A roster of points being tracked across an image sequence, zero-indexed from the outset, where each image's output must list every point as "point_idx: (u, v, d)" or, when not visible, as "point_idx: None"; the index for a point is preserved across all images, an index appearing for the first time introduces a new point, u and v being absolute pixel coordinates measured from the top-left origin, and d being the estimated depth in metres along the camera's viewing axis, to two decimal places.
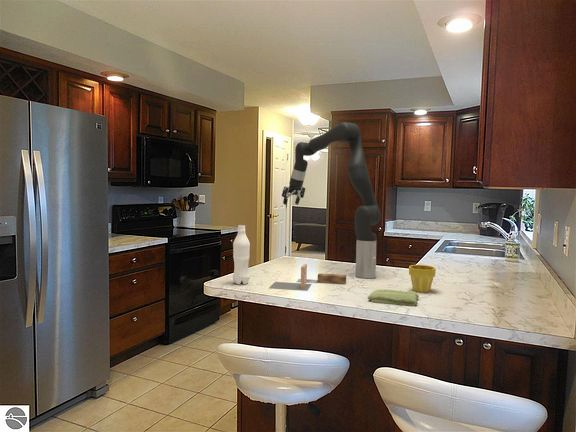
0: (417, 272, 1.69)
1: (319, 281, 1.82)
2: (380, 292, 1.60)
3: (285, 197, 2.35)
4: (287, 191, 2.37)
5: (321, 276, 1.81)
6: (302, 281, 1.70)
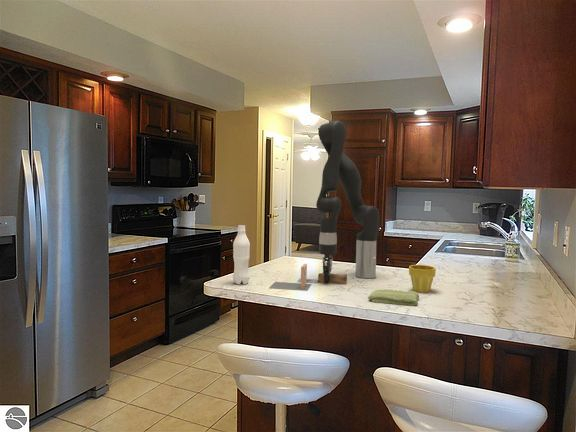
0: (417, 272, 1.69)
1: (320, 281, 1.82)
2: (380, 292, 1.61)
3: None
4: None
5: (322, 276, 1.81)
6: (302, 281, 1.70)
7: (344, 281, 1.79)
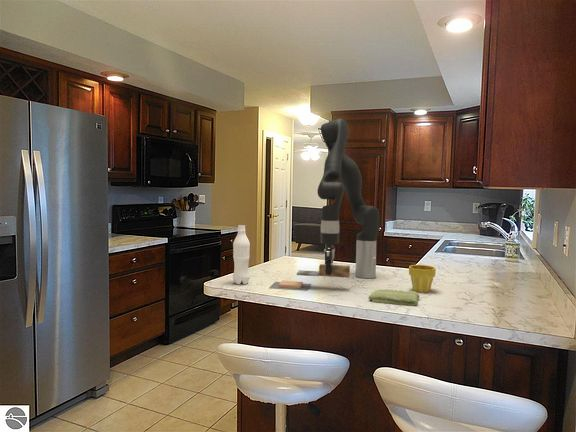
0: (417, 272, 1.69)
1: (321, 272, 1.70)
2: (381, 292, 1.61)
3: None
4: None
5: (323, 267, 1.70)
6: (292, 286, 1.71)
7: (347, 272, 1.68)
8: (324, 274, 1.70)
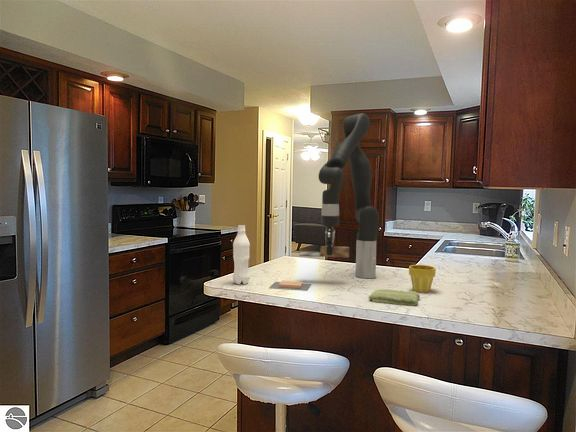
0: (417, 272, 1.69)
1: (322, 253, 1.80)
2: (381, 292, 1.61)
3: None
4: None
5: (324, 248, 1.79)
6: (292, 286, 1.71)
7: (347, 253, 1.78)
8: (325, 255, 1.79)
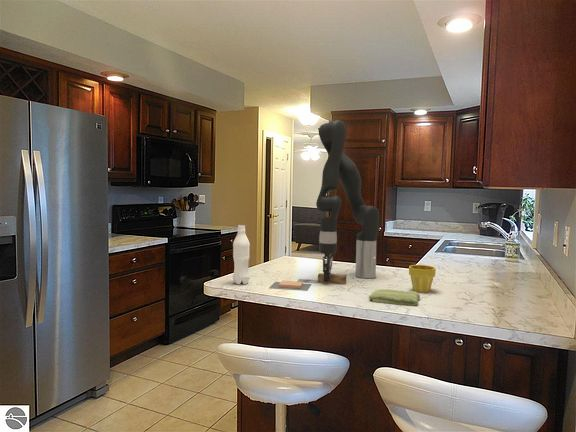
0: (417, 272, 1.69)
1: (319, 281, 1.82)
2: (381, 292, 1.61)
3: None
4: None
5: (321, 276, 1.81)
6: (292, 286, 1.71)
7: (344, 281, 1.80)
8: None
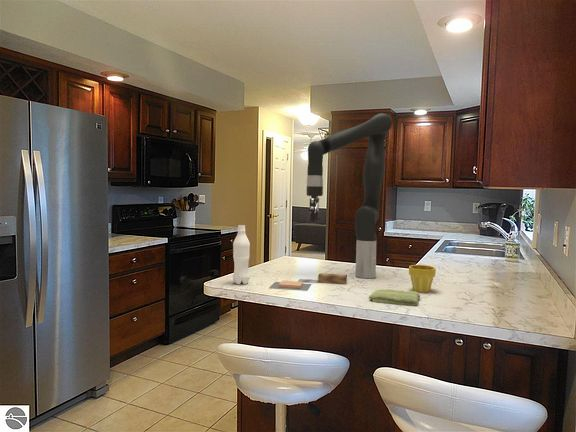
0: (417, 272, 1.69)
1: (320, 281, 1.82)
2: (381, 292, 1.61)
3: None
4: (310, 205, 1.92)
5: (322, 276, 1.81)
6: (292, 286, 1.71)
7: (344, 281, 1.79)
8: None
